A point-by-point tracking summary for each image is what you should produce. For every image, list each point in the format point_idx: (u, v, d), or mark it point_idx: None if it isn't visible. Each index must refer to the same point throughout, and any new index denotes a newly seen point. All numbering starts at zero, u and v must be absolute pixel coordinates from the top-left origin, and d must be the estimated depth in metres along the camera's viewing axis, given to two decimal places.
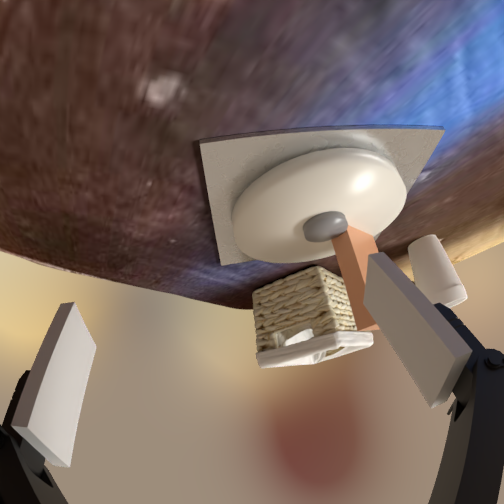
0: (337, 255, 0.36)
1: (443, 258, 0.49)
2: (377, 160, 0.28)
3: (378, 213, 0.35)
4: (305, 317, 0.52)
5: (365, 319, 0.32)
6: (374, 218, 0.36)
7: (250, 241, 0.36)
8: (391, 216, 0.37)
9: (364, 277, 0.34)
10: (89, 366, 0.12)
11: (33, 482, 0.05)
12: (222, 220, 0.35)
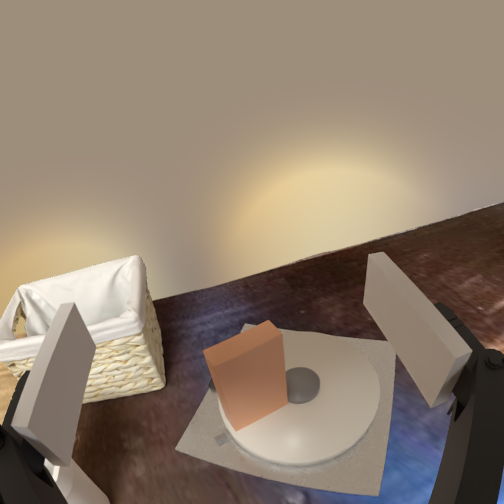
0: None
1: None
2: (368, 426, 0.31)
3: (289, 433, 0.31)
4: (147, 329, 0.41)
5: None
6: (279, 430, 0.32)
7: (302, 339, 0.44)
8: (271, 448, 0.30)
9: (281, 371, 0.32)
10: (89, 366, 0.12)
11: (33, 482, 0.05)
12: None
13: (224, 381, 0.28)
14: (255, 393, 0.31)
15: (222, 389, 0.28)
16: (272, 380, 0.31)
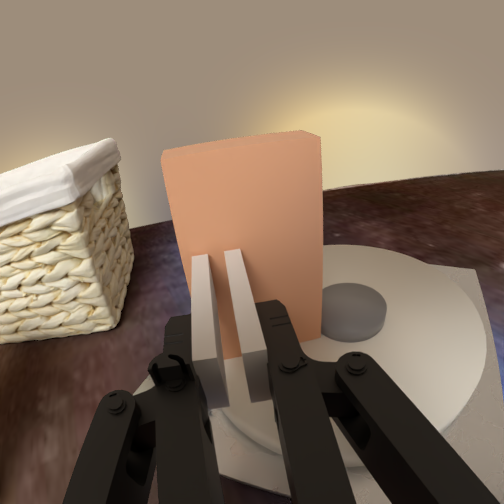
0: None
1: None
2: (459, 411, 0.13)
3: None
4: (99, 226, 0.25)
5: None
6: None
7: (369, 254, 0.27)
8: (259, 410, 0.15)
9: (314, 243, 0.16)
10: (218, 316, 0.15)
11: (203, 439, 0.07)
12: None
13: (183, 212, 0.14)
14: (253, 279, 0.16)
15: (178, 232, 0.14)
16: (292, 258, 0.16)
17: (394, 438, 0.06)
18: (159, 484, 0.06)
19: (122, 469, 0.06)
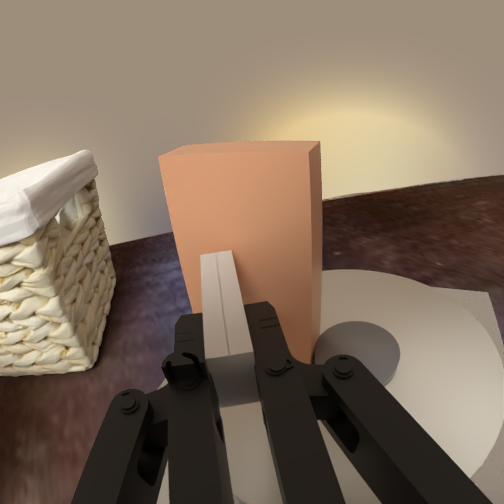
0: (320, 305, 0.18)
1: None
2: None
3: (251, 410, 0.15)
4: (69, 255, 0.21)
5: (314, 167, 0.13)
6: None
7: (434, 302, 0.21)
8: None
9: (302, 270, 0.14)
10: None
11: (216, 438, 0.07)
12: None
13: (176, 206, 0.15)
14: None
15: (173, 222, 0.16)
16: (276, 278, 0.15)
17: (383, 442, 0.06)
18: (170, 483, 0.06)
19: (134, 469, 0.06)
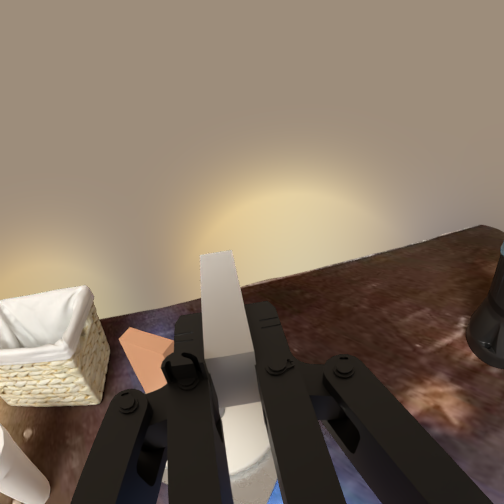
0: None
1: (26, 491, 0.24)
2: None
3: None
4: (85, 353, 0.44)
5: (169, 353, 0.36)
6: None
7: None
8: None
9: None
10: None
11: (215, 438, 0.07)
12: None
13: (128, 354, 0.38)
14: (154, 380, 0.39)
15: (128, 357, 0.39)
16: (165, 381, 0.38)
17: (384, 441, 0.06)
18: (169, 483, 0.06)
19: (133, 469, 0.06)
